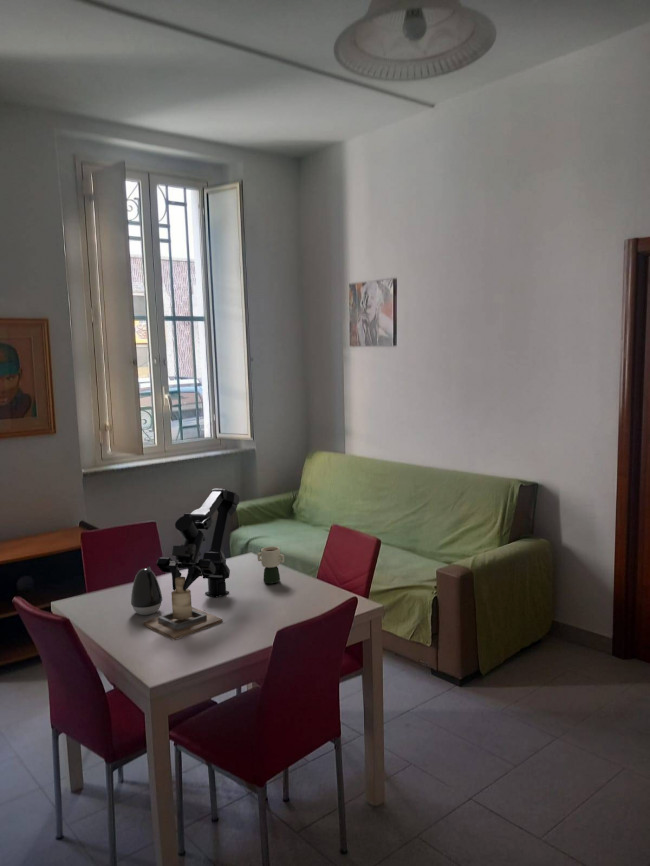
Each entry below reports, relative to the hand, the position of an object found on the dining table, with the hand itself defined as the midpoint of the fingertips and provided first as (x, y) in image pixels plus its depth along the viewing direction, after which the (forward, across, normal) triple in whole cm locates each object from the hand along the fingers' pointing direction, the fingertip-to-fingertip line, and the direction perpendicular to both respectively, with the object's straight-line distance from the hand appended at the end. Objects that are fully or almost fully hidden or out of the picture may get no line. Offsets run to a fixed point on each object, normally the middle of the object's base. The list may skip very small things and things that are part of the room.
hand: (178, 590), depth 210 cm
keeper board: (+7, 0, +9) cm, 12 cm away
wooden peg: (+6, 0, +7) cm, 9 cm away
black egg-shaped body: (+2, -17, +14) cm, 22 cm away
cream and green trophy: (-23, +16, +40) cm, 48 cm away
